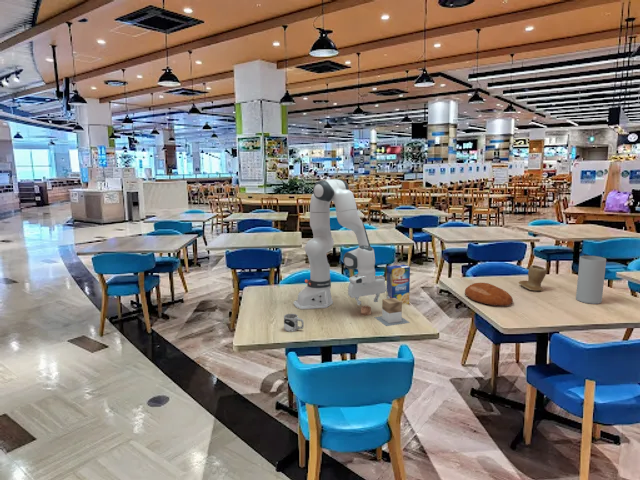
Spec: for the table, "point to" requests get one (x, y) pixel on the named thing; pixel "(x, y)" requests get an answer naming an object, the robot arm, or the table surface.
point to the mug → (292, 322)
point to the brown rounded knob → (365, 310)
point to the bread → (488, 294)
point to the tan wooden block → (392, 305)
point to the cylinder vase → (590, 279)
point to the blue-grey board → (391, 323)
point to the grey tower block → (391, 316)
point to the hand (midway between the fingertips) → (367, 303)
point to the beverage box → (398, 283)
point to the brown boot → (534, 278)
